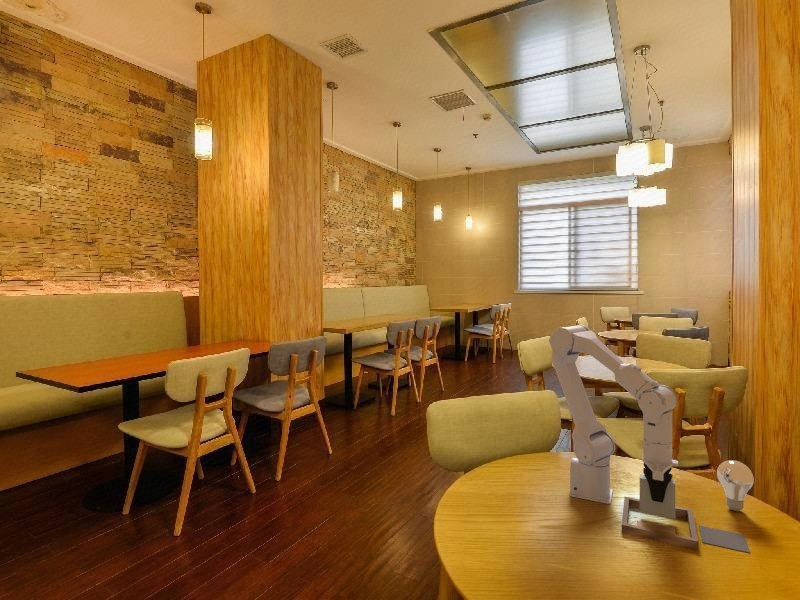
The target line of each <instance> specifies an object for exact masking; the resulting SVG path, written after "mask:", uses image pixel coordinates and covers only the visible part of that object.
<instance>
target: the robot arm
mask: <svg viewBox="0 0 800 600" xmlns="http://www.w3.org/2000/svg"><path fill="white" fill-rule="evenodd" d="M548 342H549V345H550V348H551V361H552V365H553V368H554V372H555V373H556V376H557V379H558V381H559V385H560V387H561V390H562V393H563V396H564V398H565V400H566V403H567V406H568V407H567V408H568V409H569V412H570V415H571V417H572V420H573V423H574V428H573V432H572V433H571V439H572V442H573V444H572V445H573V446H572V447H573V449H572V450H573V453H574V455H575V456H573V457H571V459H570V464H569V465H570V467H569V471H570V472H569V474H570V475H569V485H570V488H569V489H570V491H569V492H570V493H569V495H570V497H573V498H577V499H582V500H586V501H592V502H595V503H602V504H605V505H611V503H612V497H613V493H614V490H613V489H612V488H611V465H610V464H611V463H610V462H611V455H613V454H614V452H615V451H616V443H615V440H614V438H613V437H612V436H611V435H610V433H609V432H608V431H607V428H606V426H605V425H604V424H603V423H601V422H599V421H598V420H597V417H596V415H595V413H594V409H593V407H592V405H591V402H590V399H589V396H588V394H587V391H586V388H585V386H584V383H583V380H582V378H581V375H580V373H579V370H578V368H577V365H576V361H577V360H578V358H579V356H580V354H581V353H582V354H583V353H584V354H589V356H591V357H592V358H594V359H595V360H596V361H598V362H599V363H600V364H601V365H603V366H604V367H605V368H607V369H608V370H609V371H611V372H612V373H613V374H614V380H615V382H616V383H618V384H619V386H621V387H622V388H624V389H625V390H626V391H627V392H628V393H629V394H630V395H631V396H632V397H633V398H634V399H636V401H637V405H638V407H639V409H640V410H641V411H642V418H643V419H642V421H643V423H642V424H643V425H642V427H643V428H642V430H643V433H642V435H643V436H642V439H643V441H642V443H643V444H642V445H643V446H642V457H641V459H642V460H641V461H642V463H643V467H642V468H643V469H642V470H643V475H645V477H646V479H647V481H648V484H649V488H650V494H651V498H652V501H656V502H661V503H663V500H664V497H665V492H666V488H667V486H668V484H669V482H670V481H671V479H672V480H673V474H672V473H671V472H672V470H673V469H672V468H673V467H679V461H678V460H677V459H673V409H675V408H676V406H677V405H678V397H677V395H676V393H675V392H674V390H672V388H671V387H670V386H668V385H664V384H660V382H658V381H657V380H654V379H652V378H651V377H650V376H649V375H648V374H646V373H645V372H644V371H643V370H642V369H643V368H642V367H641V366H640V365H639V364H636V365H635V364H634V363H631V362H630V363H625V362H624V361H623V360H622V359H620V357H618V356H617V354H615V353H614V352H613V351H612V350H611V349H610V348H608V347H607V345H605V344H604V342H602V341H601V340H600V339H599V338H598V337H597V334H596V333H595V332H594V331H593V330H591V329H590V328H588V327H587V326H586V325H584V324H577V325H573V326H571V325H570V326H565V327H562V326H561V327H559V326H558V327H557V328H555V329H554V330H553V331H552V333H551V335H550V337H549V339H548Z"/></svg>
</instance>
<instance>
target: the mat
mask: <svg viewBox="0 0 800 600" xmlns="http://www.w3.org/2000/svg"><path fill="white" fill-rule="evenodd" d="M698 529H699V533H700V538H701V542H702V544H706V545H710V546H714V547H715V546H716V547H720V548H724V549H727V550H729V549H730V550H734V551H736V552H737V551H738V552H743V553H747V554H751V550H750V547H749V545H748V543H747V540H746V537H745V535H744V533H743V534H742V533H738V532H734V531H729V530H723V529H719V528H713V527H709V526H704V525H698Z"/></svg>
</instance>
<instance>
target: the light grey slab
mask: <svg viewBox="0 0 800 600" xmlns="http://www.w3.org/2000/svg"><path fill="white" fill-rule="evenodd" d="M639 499H640V509H639V513H643V514H649V515H652V516H653V515H654V516H659V517H664V518H669V519H673V520H676V516H675V506H676V480H675V479H673V478H672V479H671V481H670V482H669V484H668V486H667V488H666V492H665V497H664V500H663V503H661V502H656V501H652V498H651V494H650V488H649V484H648V481H647V479H646V477H645V475H644V474H641V473H640V474H639Z"/></svg>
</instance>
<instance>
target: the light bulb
mask: <svg viewBox="0 0 800 600" xmlns="http://www.w3.org/2000/svg"><path fill="white" fill-rule="evenodd" d="M716 477H717V479H718V481H719V483H720V484H721V486H722V488H723V490H724V494H725V496H726V498H725V501H726V502H725V504H726V506H727V507H728V508H729V509H730V510H731V511H732V512H735V513H737V512H740V511H741V510H743V509H744V505H745V504H744V502H745V501H744V500H745V498H746V495H747V493H748V491H749V490H751V488H752V487H753V485H754V481H755V480H754V475H753V472H752V470H751V469H750V468H749V466H747V465H746V464H745V463H742V461H739V460H733V459H729V460H725V461H723V462H721V463H720V464H719V466H718V467H717V470H716Z"/></svg>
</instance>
